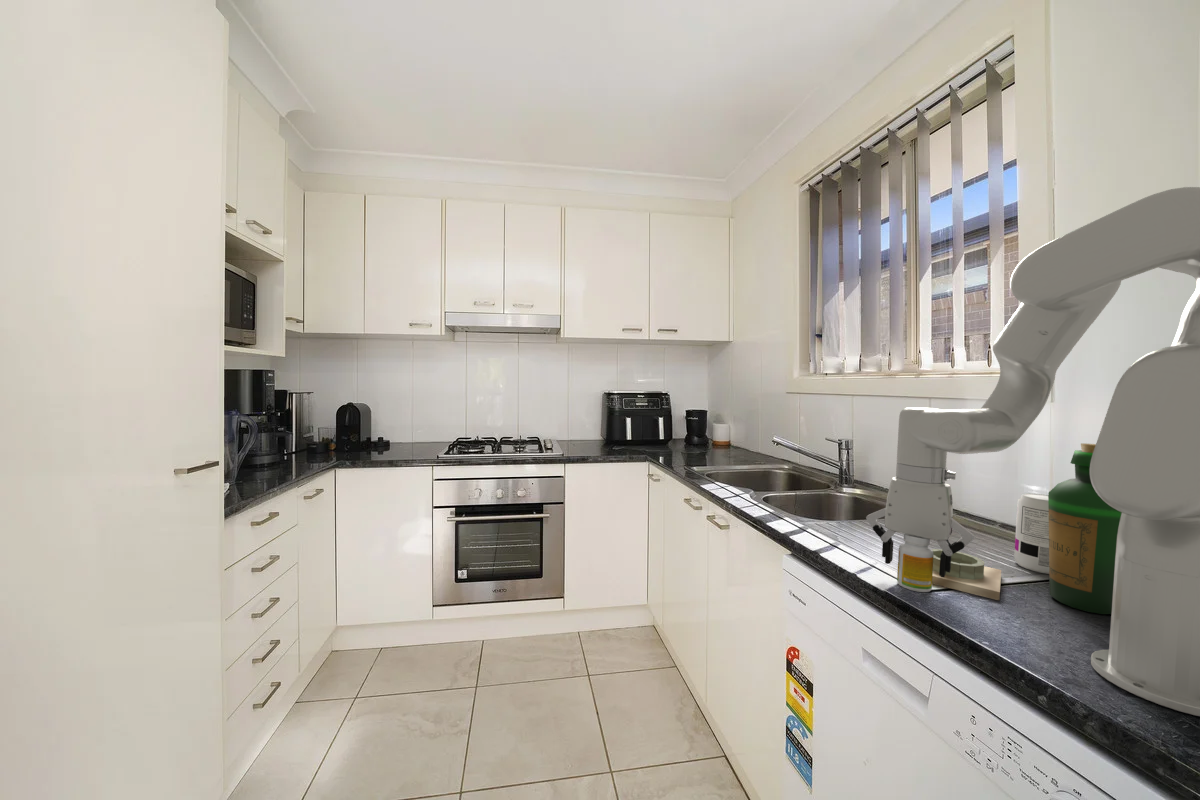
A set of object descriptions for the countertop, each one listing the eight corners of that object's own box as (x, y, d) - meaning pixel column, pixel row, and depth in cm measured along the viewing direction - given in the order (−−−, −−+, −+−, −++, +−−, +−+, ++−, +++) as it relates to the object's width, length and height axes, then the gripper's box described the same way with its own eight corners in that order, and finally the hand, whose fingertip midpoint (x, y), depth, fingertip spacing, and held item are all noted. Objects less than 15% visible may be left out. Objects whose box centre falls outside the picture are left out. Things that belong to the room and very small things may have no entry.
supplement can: (1004, 559, 103) (1008, 491, 103) (1046, 562, 102) (1050, 493, 101) (1032, 574, 95) (1037, 500, 94) (1078, 577, 94) (1083, 503, 93)
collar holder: (1000, 577, 93) (1002, 557, 93) (999, 600, 82) (1000, 578, 82) (916, 558, 102) (917, 540, 102) (905, 577, 91) (906, 556, 91)
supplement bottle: (938, 593, 84) (941, 540, 84) (908, 592, 85) (911, 539, 84) (919, 581, 90) (921, 530, 89) (890, 580, 90) (893, 529, 90)
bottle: (1036, 585, 89) (1045, 439, 88) (1117, 602, 83) (1128, 444, 82) (1047, 606, 80) (1058, 444, 79) (1139, 626, 74) (1152, 451, 73)
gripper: (981, 479, 83) (975, 576, 84) (871, 465, 95) (866, 551, 96) (979, 485, 78) (973, 589, 79) (862, 469, 89) (857, 560, 90)
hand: (914, 567), depth 87 cm, fingers open, 7 cm apart
